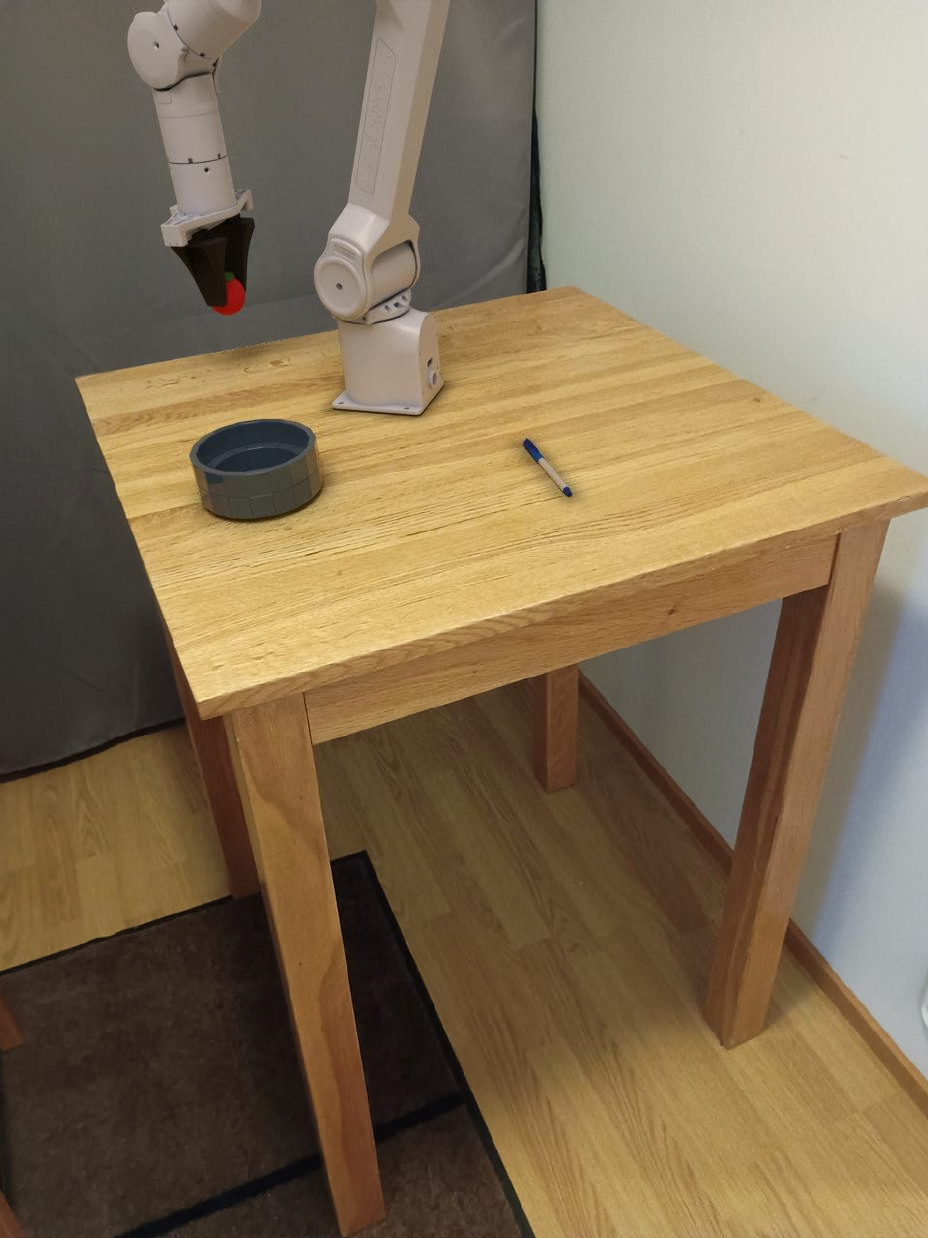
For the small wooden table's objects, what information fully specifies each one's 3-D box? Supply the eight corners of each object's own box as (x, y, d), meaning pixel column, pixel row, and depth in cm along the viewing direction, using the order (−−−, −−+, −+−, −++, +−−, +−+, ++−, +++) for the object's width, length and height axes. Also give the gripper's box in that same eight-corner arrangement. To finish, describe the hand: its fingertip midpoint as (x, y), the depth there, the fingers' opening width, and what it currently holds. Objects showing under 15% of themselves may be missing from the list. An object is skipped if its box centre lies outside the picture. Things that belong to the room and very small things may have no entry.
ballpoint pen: (519, 446, 85) (519, 436, 84) (528, 444, 85) (528, 434, 84) (567, 499, 77) (567, 488, 76) (576, 496, 77) (577, 486, 76)
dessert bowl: (342, 469, 82) (335, 423, 80) (291, 530, 75) (281, 481, 72) (238, 459, 85) (228, 414, 83) (178, 517, 77) (165, 468, 75)
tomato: (255, 308, 100) (247, 269, 98) (237, 321, 97) (229, 281, 95) (222, 307, 101) (214, 268, 99) (204, 319, 98) (195, 280, 96)
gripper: (199, 143, 97) (227, 276, 105) (119, 174, 86) (157, 320, 94) (260, 143, 95) (283, 278, 103) (186, 174, 84) (218, 323, 92)
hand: (227, 298), depth 98 cm, fingers closed on tomato, 3 cm apart
